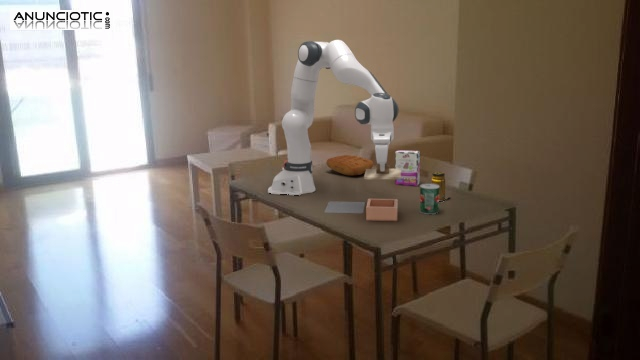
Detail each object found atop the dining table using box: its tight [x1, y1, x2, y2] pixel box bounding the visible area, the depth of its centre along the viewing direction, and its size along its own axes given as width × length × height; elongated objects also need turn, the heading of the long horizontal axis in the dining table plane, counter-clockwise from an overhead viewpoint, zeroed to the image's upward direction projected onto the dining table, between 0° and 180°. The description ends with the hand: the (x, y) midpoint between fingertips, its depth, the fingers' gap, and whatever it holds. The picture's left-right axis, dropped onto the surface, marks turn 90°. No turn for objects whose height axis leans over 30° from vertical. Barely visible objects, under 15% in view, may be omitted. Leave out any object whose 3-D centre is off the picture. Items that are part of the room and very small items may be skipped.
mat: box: [324, 201, 366, 214], centre depth 255 cm, size 16×16×1 cm
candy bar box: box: [394, 149, 421, 187], centre depth 289 cm, size 11×5×16 cm, turn 68°
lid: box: [363, 163, 401, 180], centre depth 238 cm, size 14×14×4 cm
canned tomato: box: [419, 183, 440, 215], centre depth 247 cm, size 8×8×11 cm
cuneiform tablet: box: [326, 154, 374, 176], centre depth 315 cm, size 22×17×8 cm
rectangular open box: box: [365, 198, 399, 222], centre depth 242 cm, size 12×12×6 cm
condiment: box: [430, 171, 446, 201], centre depth 264 cm, size 7×8×12 cm
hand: (382, 169), depth 238 cm, fingers closed on lid, 2 cm apart
